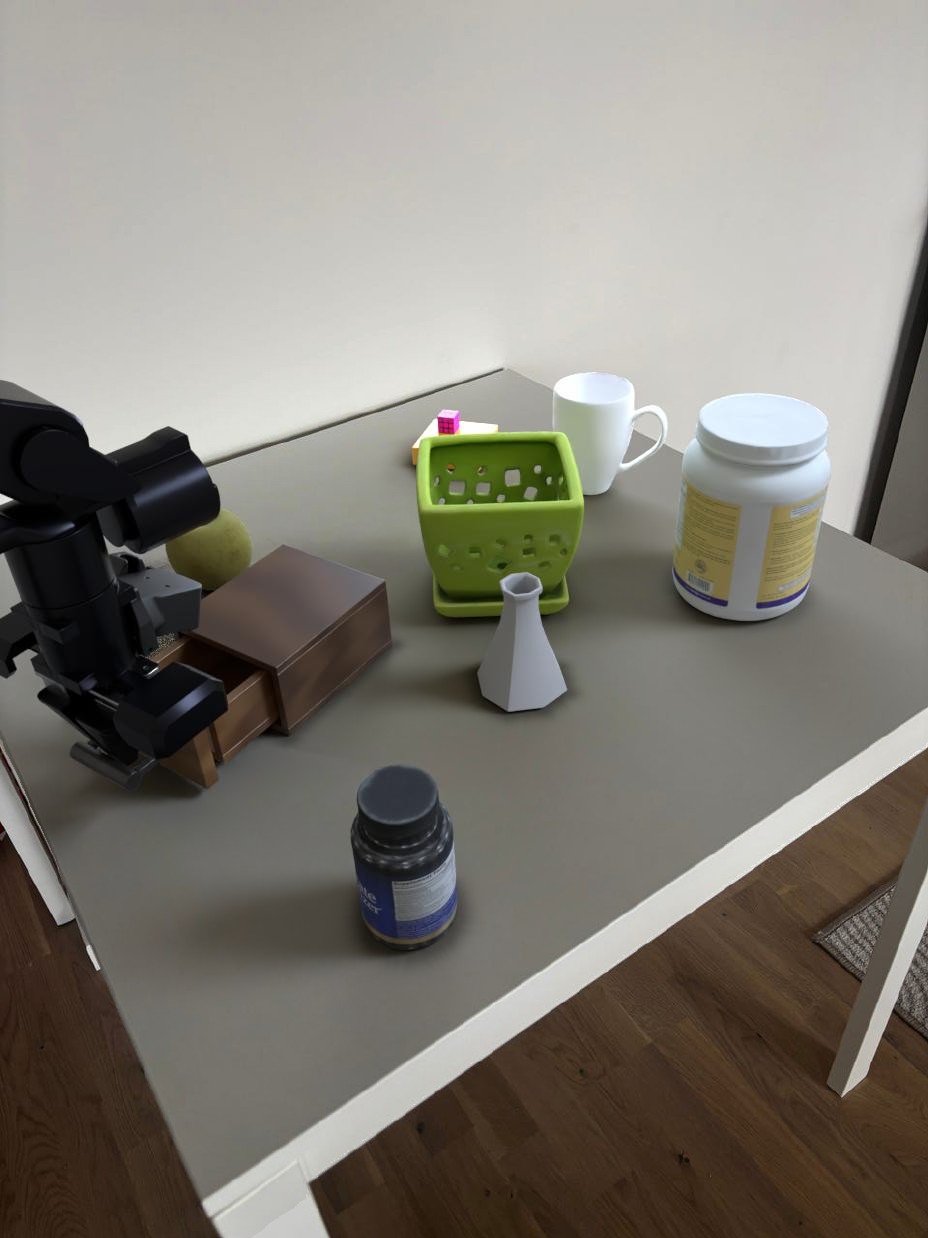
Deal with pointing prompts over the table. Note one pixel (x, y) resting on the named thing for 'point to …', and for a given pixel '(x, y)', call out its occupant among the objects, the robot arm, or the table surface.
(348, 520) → the table surface
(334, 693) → the cabinet
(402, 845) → the pill bottle
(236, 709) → the drawer
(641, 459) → the mug
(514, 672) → the flask
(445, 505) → the flower pot
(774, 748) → the table surface
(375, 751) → the table surface
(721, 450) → the supplement tub
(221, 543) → the apple
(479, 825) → the table surface
